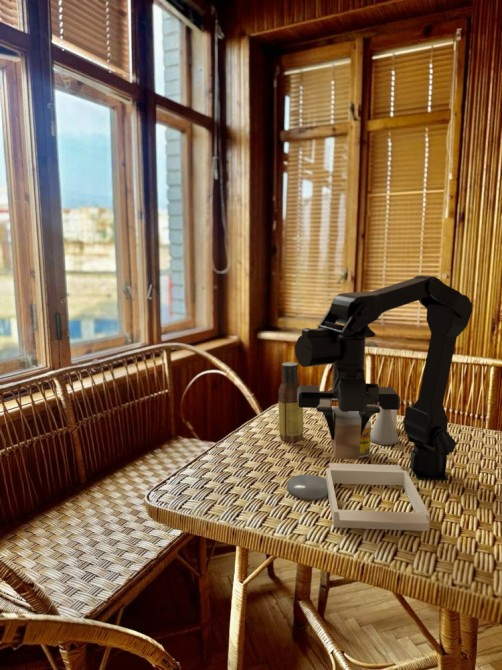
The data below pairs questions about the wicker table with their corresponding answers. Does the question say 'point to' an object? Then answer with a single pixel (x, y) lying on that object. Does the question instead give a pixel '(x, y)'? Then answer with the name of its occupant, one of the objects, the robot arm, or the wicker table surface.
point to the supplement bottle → (365, 441)
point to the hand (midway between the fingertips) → (345, 439)
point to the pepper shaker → (394, 417)
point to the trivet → (308, 487)
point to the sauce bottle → (290, 405)
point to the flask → (384, 429)
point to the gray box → (346, 434)
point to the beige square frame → (375, 519)
